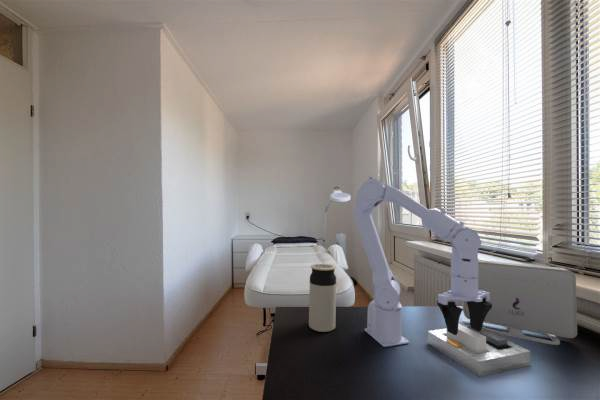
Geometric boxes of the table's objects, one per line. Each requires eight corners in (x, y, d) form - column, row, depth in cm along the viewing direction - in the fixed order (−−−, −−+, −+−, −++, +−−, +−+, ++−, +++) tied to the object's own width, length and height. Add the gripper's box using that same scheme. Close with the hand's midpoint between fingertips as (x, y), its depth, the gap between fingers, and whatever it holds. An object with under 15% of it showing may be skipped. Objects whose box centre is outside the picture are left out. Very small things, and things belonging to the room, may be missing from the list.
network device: (464, 327, 77) (464, 261, 77) (461, 316, 84) (461, 257, 85) (582, 350, 65) (580, 272, 66) (566, 336, 72) (564, 266, 73)
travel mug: (336, 333, 71) (338, 269, 72) (308, 332, 71) (310, 268, 72) (333, 321, 79) (334, 263, 79) (308, 320, 79) (309, 262, 80)
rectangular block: (446, 344, 64) (446, 323, 65) (455, 343, 65) (455, 321, 65) (476, 363, 57) (476, 338, 57) (486, 361, 58) (485, 336, 58)
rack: (427, 343, 66) (427, 324, 67) (473, 335, 71) (472, 318, 71) (479, 377, 53) (479, 353, 53) (530, 365, 58) (530, 344, 58)
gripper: (456, 281, 56) (455, 343, 55) (502, 278, 60) (502, 335, 60) (431, 273, 63) (430, 328, 62) (474, 271, 67) (474, 322, 66)
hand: (464, 331), depth 61 cm, fingers open, 7 cm apart
